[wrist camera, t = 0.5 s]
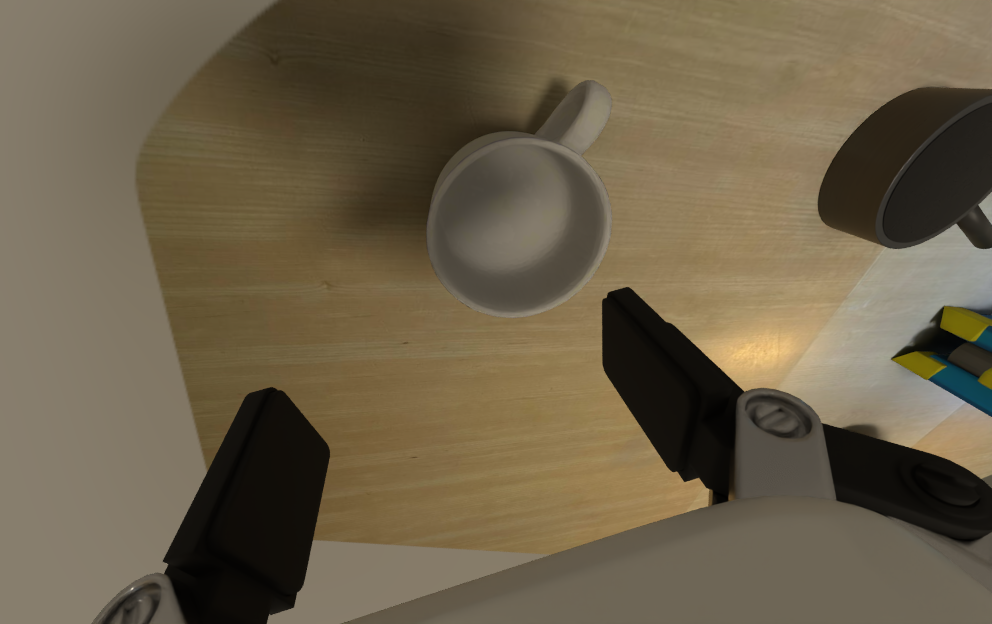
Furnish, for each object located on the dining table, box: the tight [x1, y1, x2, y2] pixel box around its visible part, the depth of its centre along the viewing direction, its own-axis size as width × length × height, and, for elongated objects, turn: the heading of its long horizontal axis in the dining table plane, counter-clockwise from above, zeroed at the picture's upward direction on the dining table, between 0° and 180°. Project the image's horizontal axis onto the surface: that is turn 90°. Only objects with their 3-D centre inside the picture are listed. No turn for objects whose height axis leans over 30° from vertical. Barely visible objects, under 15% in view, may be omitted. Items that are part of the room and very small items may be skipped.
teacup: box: [426, 80, 612, 318], centre depth 22 cm, size 14×11×8 cm
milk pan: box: [818, 88, 992, 249], centre depth 32 cm, size 12×21×5 cm, turn 62°
